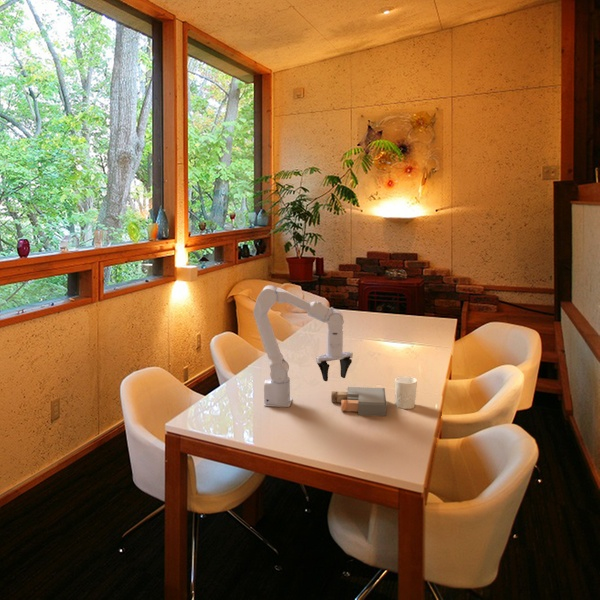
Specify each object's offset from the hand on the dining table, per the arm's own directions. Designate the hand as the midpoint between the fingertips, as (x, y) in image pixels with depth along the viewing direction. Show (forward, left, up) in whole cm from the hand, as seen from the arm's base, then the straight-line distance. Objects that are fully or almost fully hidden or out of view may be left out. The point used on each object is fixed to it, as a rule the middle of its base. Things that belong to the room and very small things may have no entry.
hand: (334, 378), depth 191 cm
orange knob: (+9, -7, -9) cm, 14 cm away
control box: (+12, -3, -9) cm, 15 cm away
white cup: (+26, 0, -10) cm, 28 cm away
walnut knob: (+5, +1, -9) cm, 10 cm away
